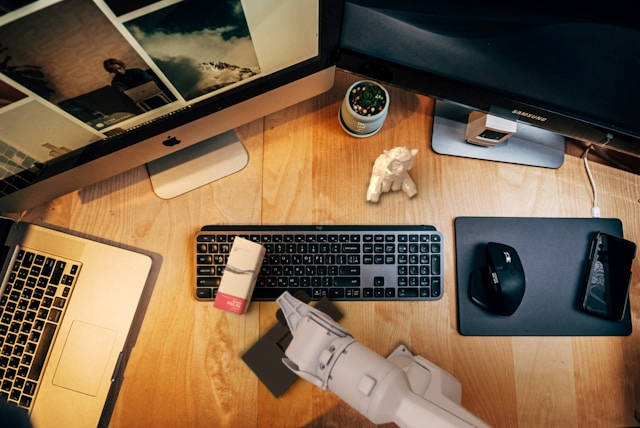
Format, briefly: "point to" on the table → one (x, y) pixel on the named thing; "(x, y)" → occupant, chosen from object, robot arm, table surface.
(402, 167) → the seated beast figurine
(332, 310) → the pad
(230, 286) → the ink box
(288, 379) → the base pad
